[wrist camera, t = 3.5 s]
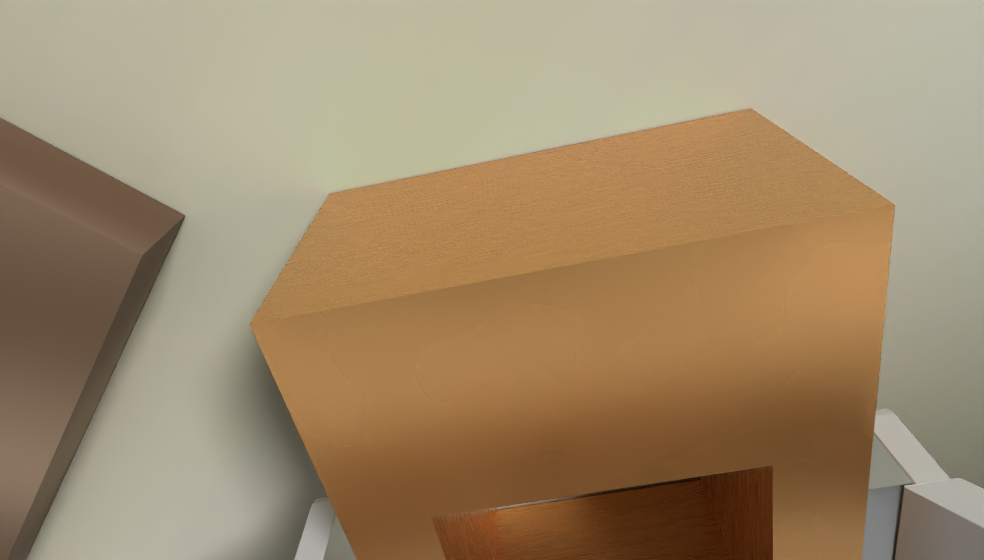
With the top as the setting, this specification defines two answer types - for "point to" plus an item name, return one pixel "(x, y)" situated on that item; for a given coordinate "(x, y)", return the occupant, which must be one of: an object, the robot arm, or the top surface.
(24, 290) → the flange base
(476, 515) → the wooden notched block
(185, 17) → the top surface
